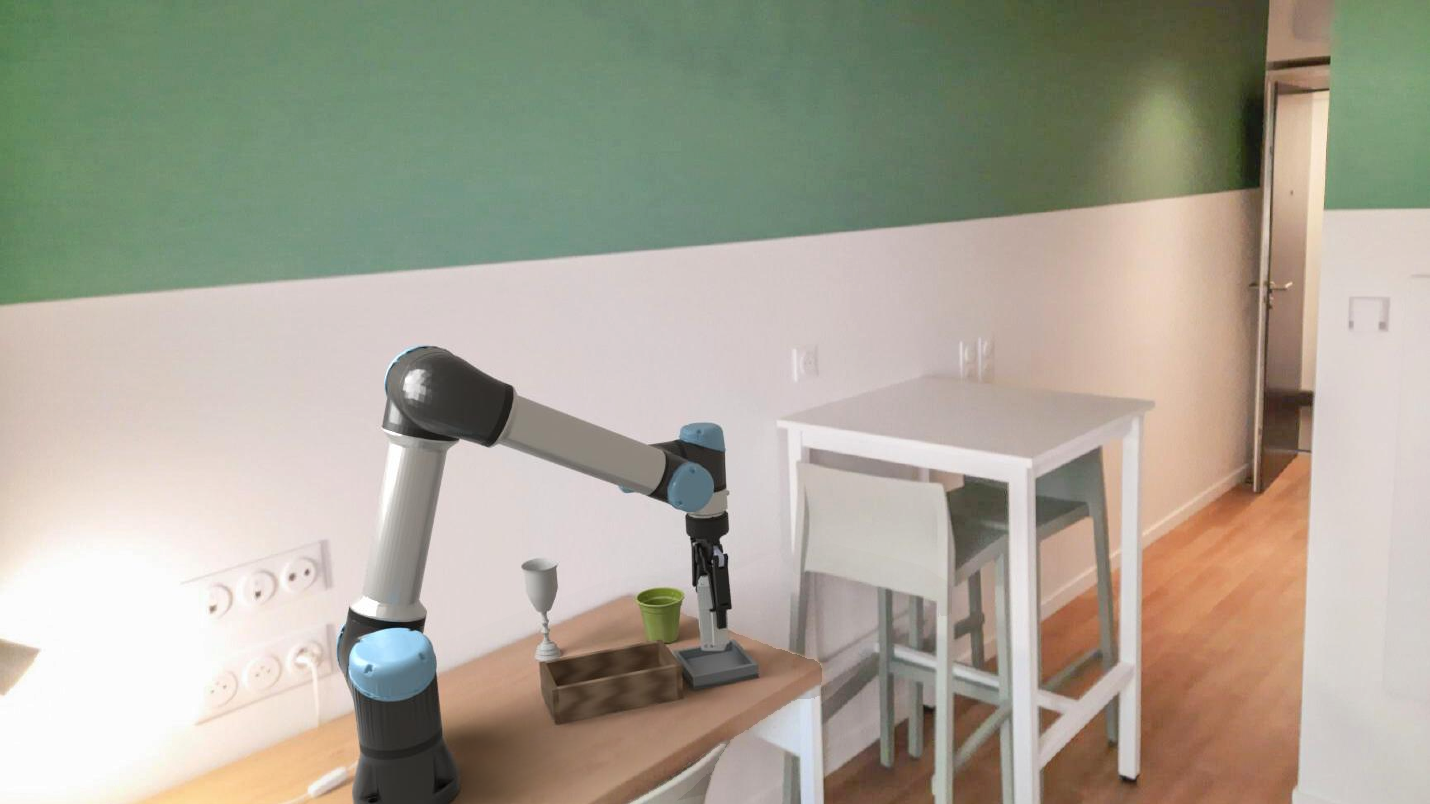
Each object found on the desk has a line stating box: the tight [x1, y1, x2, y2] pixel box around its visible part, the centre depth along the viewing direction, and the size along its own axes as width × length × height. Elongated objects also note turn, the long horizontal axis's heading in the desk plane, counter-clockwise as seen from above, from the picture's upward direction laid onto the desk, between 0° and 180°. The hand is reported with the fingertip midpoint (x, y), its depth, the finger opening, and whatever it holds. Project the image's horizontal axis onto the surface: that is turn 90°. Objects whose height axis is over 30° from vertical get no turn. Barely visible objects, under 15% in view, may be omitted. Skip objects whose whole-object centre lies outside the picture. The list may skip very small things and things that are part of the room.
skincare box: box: [696, 575, 726, 651], centre depth 192 cm, size 6×4×12 cm
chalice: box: [520, 557, 562, 662], centre depth 202 cm, size 7×7×18 cm
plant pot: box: [635, 586, 685, 644], centre depth 208 cm, size 9×9×9 cm
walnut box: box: [538, 639, 684, 725], centre depth 185 cm, size 22×12×6 cm, turn 109°
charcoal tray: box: [672, 639, 760, 692], centre depth 193 cm, size 12×12×2 cm
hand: (713, 635), depth 192 cm, fingers closed on skincare box, 7 cm apart
